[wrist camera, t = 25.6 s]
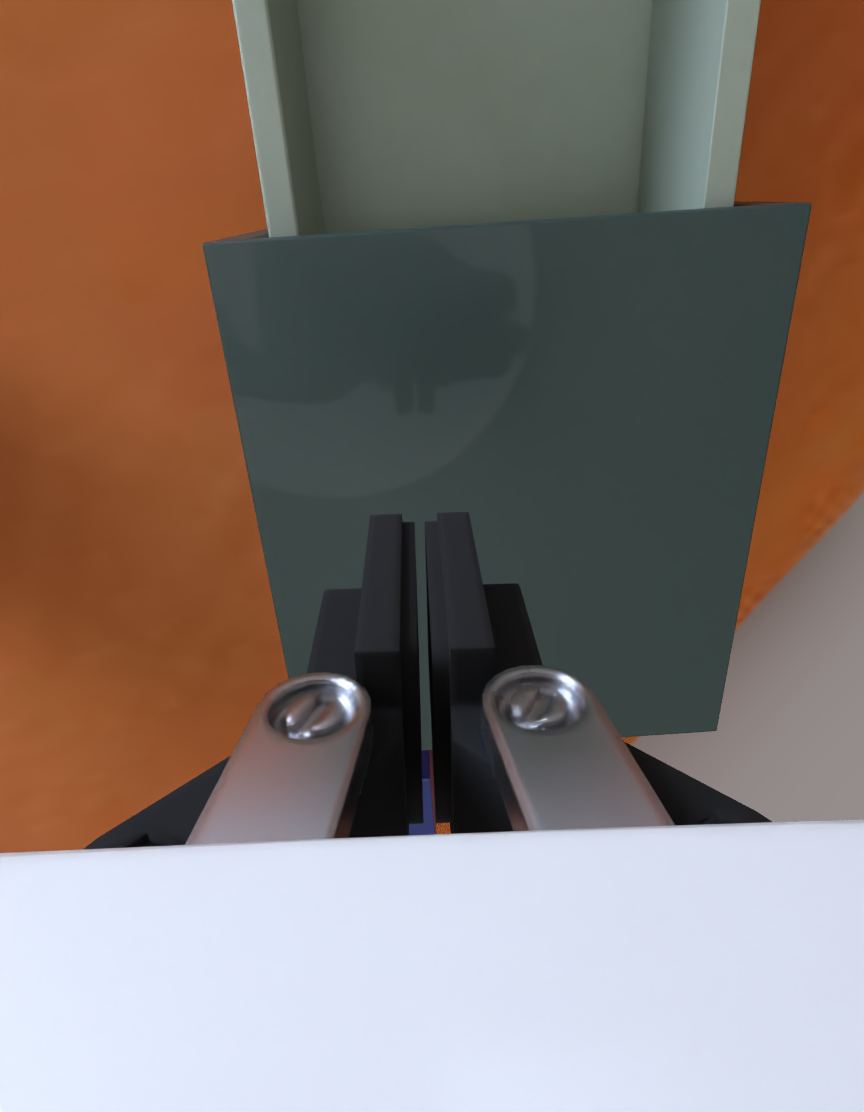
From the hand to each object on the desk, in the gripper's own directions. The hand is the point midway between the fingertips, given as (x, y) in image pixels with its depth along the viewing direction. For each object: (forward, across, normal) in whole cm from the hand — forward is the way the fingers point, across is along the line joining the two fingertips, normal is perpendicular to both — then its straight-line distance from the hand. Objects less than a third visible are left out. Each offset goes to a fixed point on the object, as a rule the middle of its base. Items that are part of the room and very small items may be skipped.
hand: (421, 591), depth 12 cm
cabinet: (+17, -3, +3) cm, 17 cm away
